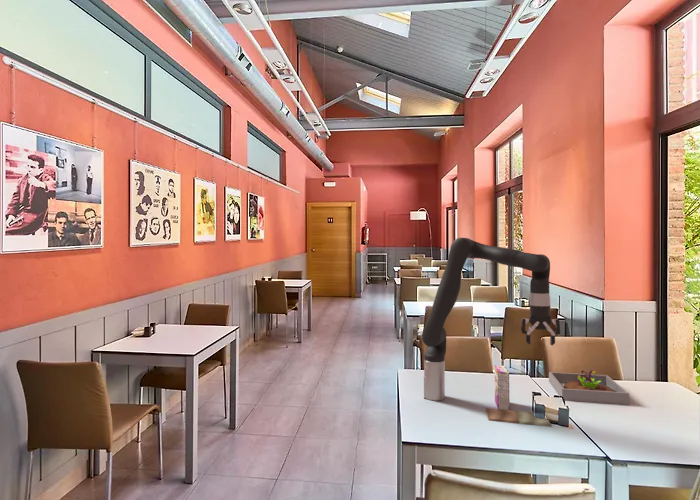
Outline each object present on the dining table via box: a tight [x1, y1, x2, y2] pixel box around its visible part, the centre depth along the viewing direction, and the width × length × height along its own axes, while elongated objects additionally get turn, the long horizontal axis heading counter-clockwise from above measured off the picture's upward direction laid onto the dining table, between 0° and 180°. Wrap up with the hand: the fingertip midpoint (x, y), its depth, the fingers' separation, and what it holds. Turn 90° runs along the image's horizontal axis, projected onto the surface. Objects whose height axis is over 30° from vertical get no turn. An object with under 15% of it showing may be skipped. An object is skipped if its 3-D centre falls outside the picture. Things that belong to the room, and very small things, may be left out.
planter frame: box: [548, 371, 630, 406], centre depth 201 cm, size 27×27×5 cm
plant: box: [563, 369, 616, 392], centre depth 202 cm, size 20×20×11 cm
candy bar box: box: [493, 364, 511, 410], centre depth 185 cm, size 11×5×16 cm, turn 168°
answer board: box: [485, 408, 551, 427], centre depth 172 cm, size 23×11×2 cm, turn 76°
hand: (540, 344), depth 169 cm, fingers open, 8 cm apart
